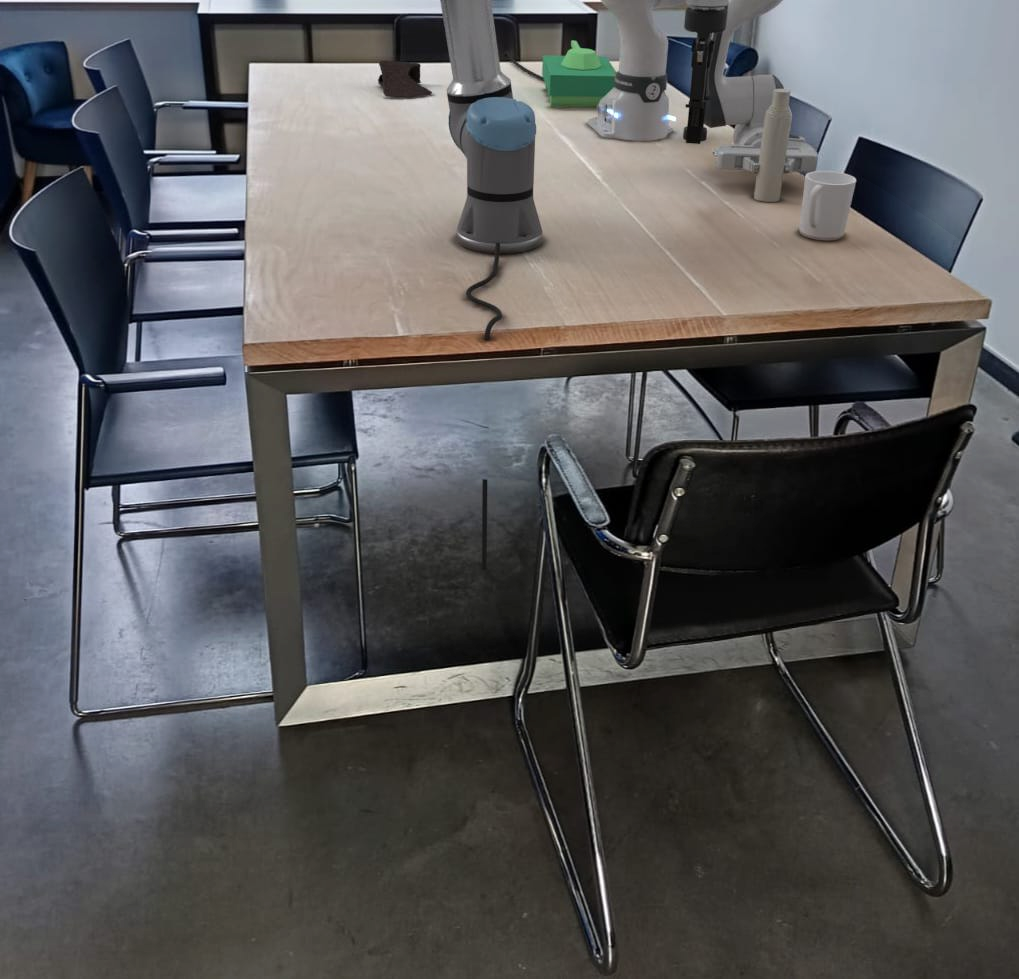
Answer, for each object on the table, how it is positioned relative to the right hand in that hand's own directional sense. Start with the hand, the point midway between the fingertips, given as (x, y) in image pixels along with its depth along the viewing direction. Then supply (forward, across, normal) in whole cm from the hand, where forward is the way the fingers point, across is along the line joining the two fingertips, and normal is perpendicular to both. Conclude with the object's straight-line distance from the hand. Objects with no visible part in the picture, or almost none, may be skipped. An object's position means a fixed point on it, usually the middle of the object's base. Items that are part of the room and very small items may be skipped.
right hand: (772, 169), depth 217 cm
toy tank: (-92, -37, +6) cm, 99 cm away
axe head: (-91, -85, +6) cm, 125 cm away
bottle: (-1, 0, +6) cm, 6 cm away
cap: (+7, -17, -9) cm, 20 cm away
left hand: (+7, -17, -7) cm, 20 cm away
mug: (+22, +6, +6) cm, 24 cm away
